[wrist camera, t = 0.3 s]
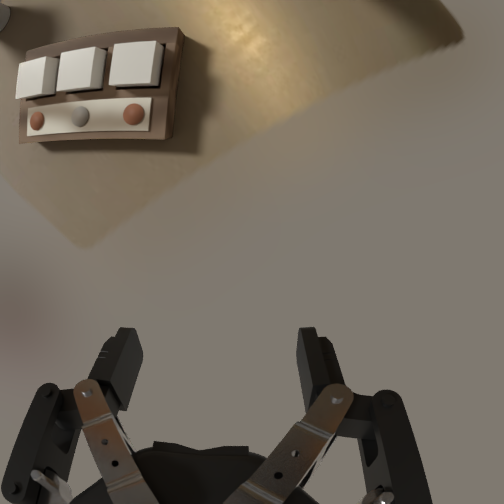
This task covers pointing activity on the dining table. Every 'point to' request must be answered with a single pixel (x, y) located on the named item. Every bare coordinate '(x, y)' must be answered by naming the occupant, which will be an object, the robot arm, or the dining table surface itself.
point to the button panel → (106, 96)
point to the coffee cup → (4, 15)
